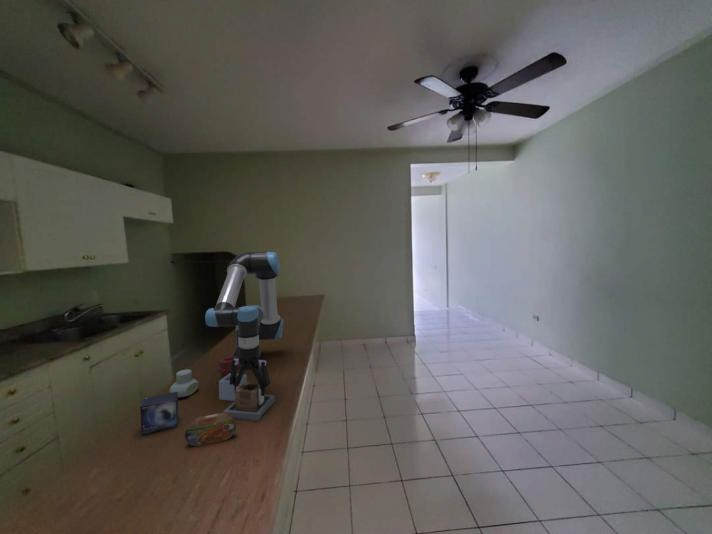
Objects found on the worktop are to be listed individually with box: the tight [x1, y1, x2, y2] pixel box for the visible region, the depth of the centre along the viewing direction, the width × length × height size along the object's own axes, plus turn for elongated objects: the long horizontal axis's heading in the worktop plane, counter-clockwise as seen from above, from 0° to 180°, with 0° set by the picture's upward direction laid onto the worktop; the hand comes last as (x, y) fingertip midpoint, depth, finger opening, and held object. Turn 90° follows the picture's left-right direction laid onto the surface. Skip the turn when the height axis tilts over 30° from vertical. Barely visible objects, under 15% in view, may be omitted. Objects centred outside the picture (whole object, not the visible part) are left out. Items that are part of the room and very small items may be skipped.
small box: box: [139, 392, 180, 436], centre depth 100 cm, size 11×6×10 cm, turn 117°
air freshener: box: [169, 368, 200, 398], centre depth 123 cm, size 11×8×10 cm
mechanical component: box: [216, 355, 241, 380], centre depth 134 cm, size 12×10×10 cm
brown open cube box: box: [235, 381, 266, 412], centre depth 111 cm, size 8×8×8 cm
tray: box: [222, 394, 276, 422], centre depth 111 cm, size 14×14×2 cm
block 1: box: [218, 373, 248, 402], centre depth 122 cm, size 8×8×8 cm
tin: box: [184, 412, 237, 447], centre depth 92 cm, size 15×3×8 cm, turn 108°
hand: (250, 402), depth 111 cm, fingers open, 9 cm apart
